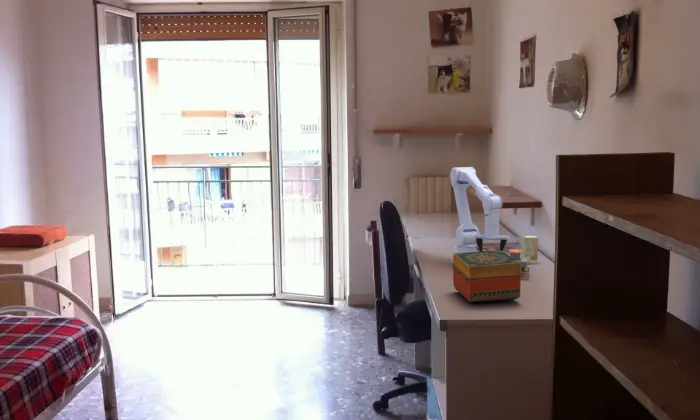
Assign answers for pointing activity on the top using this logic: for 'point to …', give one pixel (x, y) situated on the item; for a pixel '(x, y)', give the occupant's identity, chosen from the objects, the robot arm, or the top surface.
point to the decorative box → (486, 276)
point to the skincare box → (529, 248)
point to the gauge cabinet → (523, 262)
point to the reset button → (515, 254)
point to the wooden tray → (525, 273)
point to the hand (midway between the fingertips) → (490, 257)
